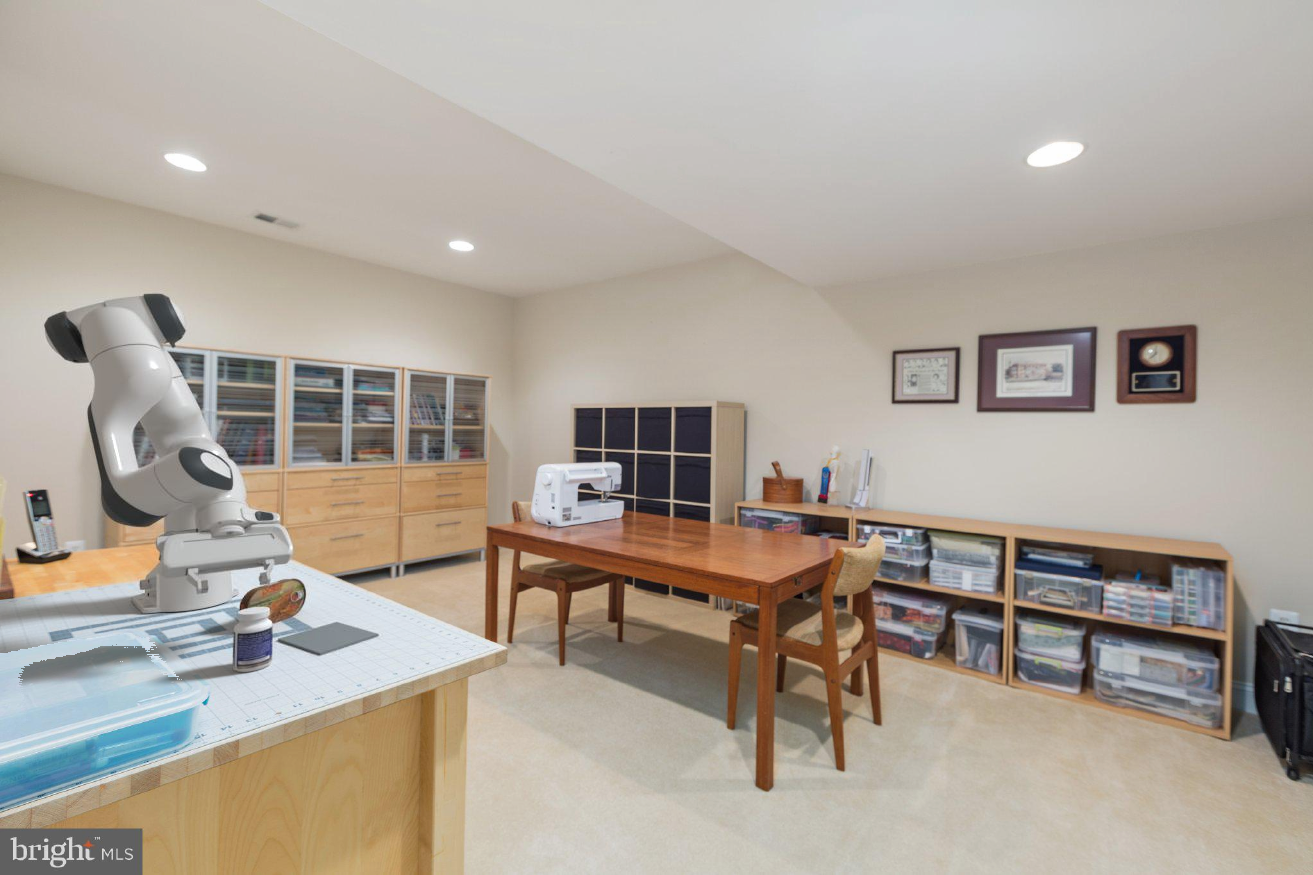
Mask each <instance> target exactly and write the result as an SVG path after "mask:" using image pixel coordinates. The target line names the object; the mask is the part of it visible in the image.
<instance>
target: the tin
mask: <svg viewBox="0 0 1313 875" xmlns="http://www.w3.org/2000/svg"><path fill="white" fill-rule="evenodd" d="M306 597H307V590H306V586H305V584H304V582H303V581H301V580H300V579H298V578H283V579H280V580H277V581H274V582H270V583H269V584H265V585H260V586H258V587H254V588H252V589H250V590H248V591H247V592H246V593H245V594H244V596H243V597H242V598H241V600H240V602H239V607H238V608H239V610H238V612H239V611H241V610H243V609H247V608H253V607H268V608H270V615H269V616H268V619H269V620H271V621H272V623H273V625H274V624H277V623H279V622H281V620H282V621H284V620H287V619H289V618H291V617H294V616H296V615H297V614H298V613H299V612H300V611H301V610H302V609H303V607H304V605H305V602H306Z"/></svg>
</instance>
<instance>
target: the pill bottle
mask: <svg viewBox="0 0 1313 875" xmlns="http://www.w3.org/2000/svg"><path fill="white" fill-rule="evenodd" d="M236 613H237V615H236V619H237V620H238V623H237V624H236V625H234V628H233V633H232V635H233V636H232V637H233V638H232V670H233V671H235V672H238V673H248V672H249V673H251V672H255V671H260V670H262V669H265V668H267V667H268V666H269V665H271V664H272V661H273V638H274V635H273V632H274V631H273V630H274V627H273V625H274V624H273V623H272V621H271V620H269V619H268V616H269V615H270V608H268V607H253V608H247V609H243V610H241V611H239V610H238V611H237V612H236Z"/></svg>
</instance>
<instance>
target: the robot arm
mask: <svg viewBox="0 0 1313 875" xmlns="http://www.w3.org/2000/svg"><path fill="white" fill-rule="evenodd" d="M43 327H44V335H45V338H46V341H47V343H48V345H49V346H50V348H51V349H52V350H53V351H54V352H55V353H56V354H58V355H59V356H61V358H63V359H64V360H65V361H68V362H71V363H74V364H87V363H88V364H89V366H90V367H91V369H92V370H91V371H92V373H93V377H94V388H93V389H94V390H93V394H92V398H91V401H90V402H89V405H88V407H87V409H86V410H87V421H88V423H87V424H88V427H89V428H88V429H89V432H90V436H91V442H92V445H93V450H94V454H95V455H94V456H95V458H96V464H97V467H98V473H99V478H100V500H101V501H100V502H101V506H102V509H103V511H104V513H105V514H106V515H107V518H109V519H110V520H112V521H113V522H116V524H120V525H123V526H126V527H127V526H128V527H134V528H147V527H151V526H152V525H153V524H155V523H157V522H159V521H160V520H162V519H163V518H164V520H163V533H162V534H160V535H159V536H158V537H156V539H155V548H156V550H157V551H158V552H159V553H158V554H159V556H158V561H159V562H158V564H156V565H155V566H154V567H153V568H152V570H151V571H149V573H147V574H146V576H145V579H141V580H139V590H140V591H144V592H143V593H140V594H136V595H134V596H131V602H132V603H133V605H135V607H136V608H137V609H138V610H139V611H140V612H141V613H142V614H153V613H168V612H169V613H172V612H185V611H193V610H200V609H206V608H211V607H214V606H218V605H222V604H223V603H226V602H229V601H230V600H231V599H232V598H233V597H235V596H237V595H239V594H240V592H239V589H236V588H234V582H233V571H239V570H245V569H248V570H249V569H254V568H263V570H264V571H265V572H264V571H263V572H260V573H259V576H258V582H259V585H260V586H264V585H267V584H270V583H271V582H272V580H271V579H272V577H271V573H272V571H273V569H274V566H277V565H278V566H279V565H287V564H288V563H289V562H290V561H291V559H292V558H293V554H294V546H293V545H294V544H293V542H292V539H291V536H290V535H289V532H288V530H287V529H286V527H285V526H284V525H282V524H280V522H281V516H280V514H279V513H277V512H271V511H266V510H259V509H254V508H251V507H250V506H249V505H248V503H247V498H248V497H247V496H248V494H247V493H248V492H247V489H246V484H245V481H244V477H243V476H242V473H241V470H240V469H239V467H238V465H237V464H236V463H235V461H233V459H230V457H229V455H228V452H227V451H226V450H225V449H224V447H222V446H221V445H220V444H219V443H217V442H215V441H214V438H213V436H212V433H211V432H210V429H209V426H208V425H207V423H206V421H205V418H204V414H203V413H202V410H201V408H200V406H199V403H198V401H197V400H196V398H195V396H194V394H193V392H192V390H191V389H190V386H189V385H188V383H187V381H186V379H185V377H184V376H183V373H182V372H181V370H180V368H179V366H178V364H177V363H176V361H175V360H174V358H173V357H172V356H171V354H170V353H169V351H168V350H167V348H165V347H164V345H165V344H167V343H168V344H169V345H170V347H171V348H172V349H174V348H176V343H177V342H178V341H180V340H181V339H183V337H184V335H185V334H186V331H187V330H186V317H185V316H184V313H183V311H182V309H181V308H180V307H179V306H178V305H177V303H175V302H174V301H173V300H172V299H171V298H170V297H169V296H167V295H165V294H163V293H143V295H137V296H136V295H135V296H128V297H126V296H125V297H119V298H113V299H108V300H104V301H102V302H98V303H93V304H90V305H86V306H83V307H79V308H76V309H72V310H70V311H65V310H63V311H60V312H58V313H55V314H53V315H50V316H49V317H47V319H46V320H45V322H44V324H43ZM163 344H164V345H163ZM138 423H140V424H141V426H142V429H143V430H144V432H145V434H146V436H147V437H148V440H149V441H150V444H151V445H152V447H153V449H154V451H155V453H156V455H157V457H158V459H155V461H152V462H150V463H147V464H145V465H144V466H142V467H140V468H139V464H138V460H137V456H136V451H135V448H134V444H133V433H134V432H133V431H134V429H135V428H136V426H137V424H138Z"/></svg>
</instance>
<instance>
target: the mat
mask: <svg viewBox="0 0 1313 875" xmlns="http://www.w3.org/2000/svg"><path fill="white" fill-rule="evenodd" d="M376 637H379V633H376V632H373V631H369V630H367V629H364V628H359V627H356V626H352V625H349V624H347V623H342V622H339V621H335V622H331V623H327V624H324V625H321V626H317V627H314V628H311V629H307V630H303V631H300V632H296V633H293V634H289V635H286V636H283V637H280V638H277V641H278V642H280V643H282V644H283V643H284V644H287V645H289V646H292V647H296V648H299V649H301V650H304V651H307V652H309V653H313V654H316V655H319V656H323V655H325V654H328V653H332V652H334V651H335V652H336V651H337V649H338V650H340V649H343V648H346V647H347V648H348V647H349V645H350V646H353V645H356V644H359V643H361V642H364V641H367V640H370V639H374V638H376Z"/></svg>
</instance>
